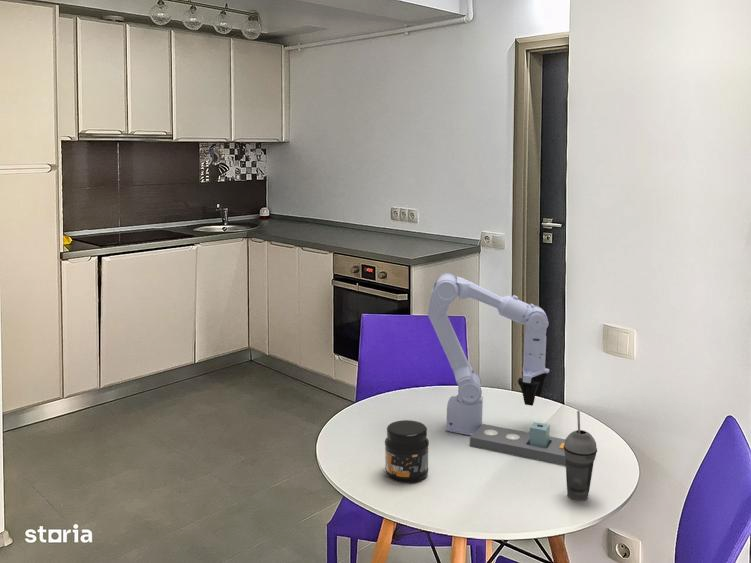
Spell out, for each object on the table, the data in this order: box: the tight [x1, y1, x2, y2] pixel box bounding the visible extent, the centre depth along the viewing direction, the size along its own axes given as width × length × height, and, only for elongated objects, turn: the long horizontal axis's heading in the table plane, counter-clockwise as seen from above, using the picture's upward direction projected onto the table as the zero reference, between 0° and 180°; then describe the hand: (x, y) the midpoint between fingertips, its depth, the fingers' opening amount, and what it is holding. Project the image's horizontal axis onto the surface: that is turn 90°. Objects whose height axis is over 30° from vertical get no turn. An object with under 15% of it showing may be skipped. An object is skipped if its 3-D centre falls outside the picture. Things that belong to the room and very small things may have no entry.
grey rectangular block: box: [529, 422, 551, 448], centre depth 184 cm, size 4×4×7 cm
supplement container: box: [384, 419, 430, 484], centre depth 172 cm, size 10×10×12 cm
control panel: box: [469, 423, 566, 467], centre depth 186 cm, size 26×10×3 cm, turn 62°
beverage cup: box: [564, 410, 598, 502], centre depth 160 cm, size 7×7×20 cm
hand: (532, 400), depth 195 cm, fingers open, 7 cm apart
